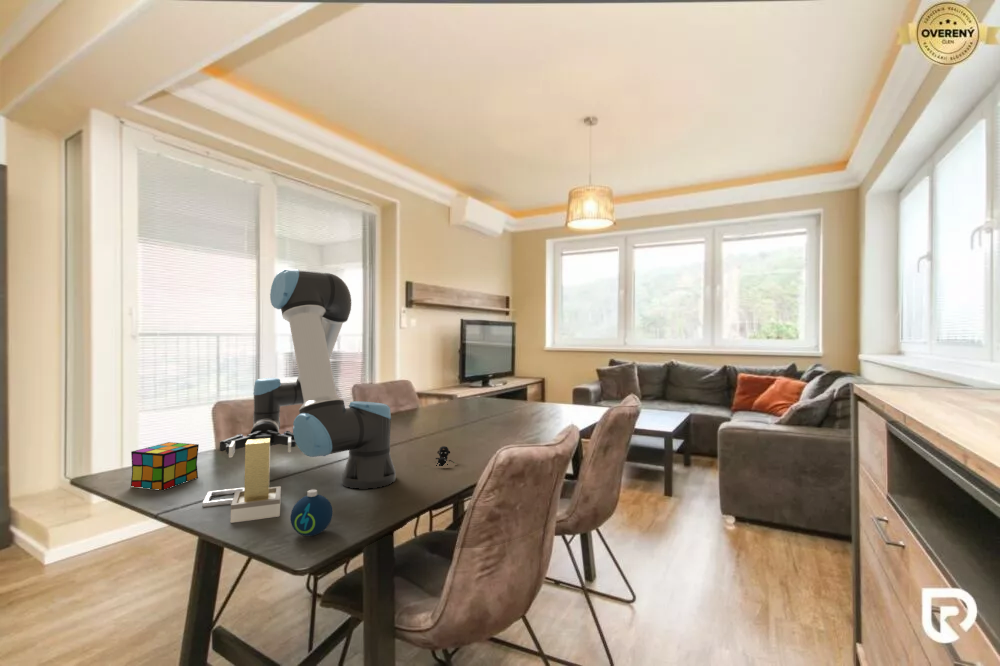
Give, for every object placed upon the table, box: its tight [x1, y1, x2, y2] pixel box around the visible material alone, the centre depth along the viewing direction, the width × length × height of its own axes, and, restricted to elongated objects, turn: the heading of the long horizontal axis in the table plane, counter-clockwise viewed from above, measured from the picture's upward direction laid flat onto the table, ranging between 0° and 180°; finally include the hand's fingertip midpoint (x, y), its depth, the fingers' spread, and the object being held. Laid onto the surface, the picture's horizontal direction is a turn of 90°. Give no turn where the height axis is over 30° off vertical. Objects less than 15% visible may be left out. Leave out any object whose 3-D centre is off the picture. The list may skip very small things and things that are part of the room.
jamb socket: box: [201, 487, 245, 508], centre depth 118 cm, size 9×9×1 cm
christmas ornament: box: [289, 489, 334, 537], centre depth 98 cm, size 8×8×10 cm
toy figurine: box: [435, 445, 454, 466], centre depth 152 cm, size 10×10×6 cm
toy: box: [130, 441, 199, 491], centre depth 130 cm, size 11×11×10 cm
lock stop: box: [244, 438, 271, 502], centre depth 110 cm, size 5×5×14 cm
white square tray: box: [230, 485, 282, 524], centre depth 110 cm, size 10×10×4 cm
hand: (260, 449), depth 119 cm, fingers open, 13 cm apart
